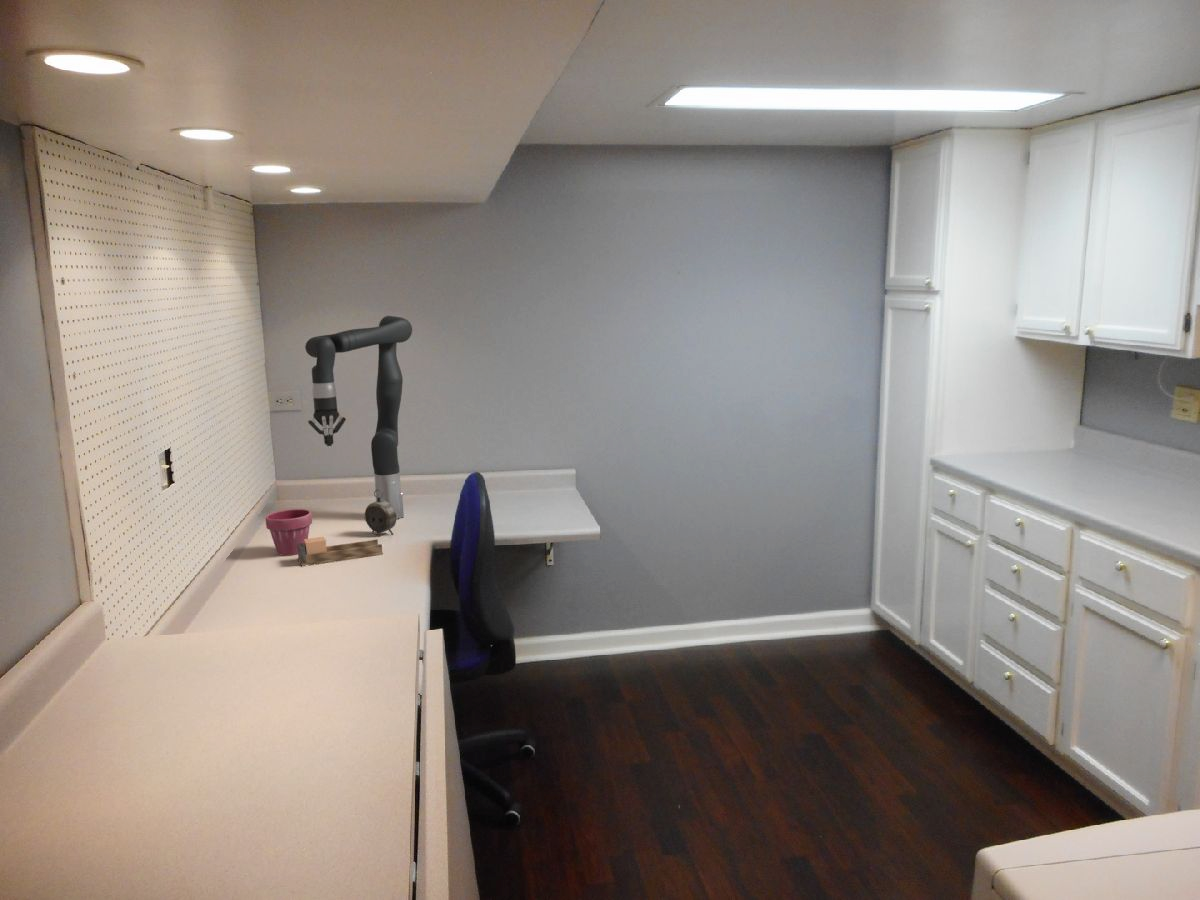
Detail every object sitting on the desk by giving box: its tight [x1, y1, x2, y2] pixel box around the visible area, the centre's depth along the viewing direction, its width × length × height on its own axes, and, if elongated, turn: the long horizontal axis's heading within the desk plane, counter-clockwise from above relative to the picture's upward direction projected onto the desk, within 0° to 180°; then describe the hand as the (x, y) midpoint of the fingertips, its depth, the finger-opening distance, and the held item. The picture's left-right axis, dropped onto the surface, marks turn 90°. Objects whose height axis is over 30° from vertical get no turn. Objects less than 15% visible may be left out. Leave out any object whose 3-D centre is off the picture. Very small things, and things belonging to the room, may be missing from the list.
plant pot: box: [265, 508, 313, 556], centre depth 281 cm, size 14×14×13 cm
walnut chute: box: [297, 539, 384, 567], centre depth 275 cm, size 25×9×6 cm, turn 116°
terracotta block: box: [304, 536, 327, 555], centre depth 272 cm, size 6×5×6 cm
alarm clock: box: [364, 489, 397, 537], centre depth 299 cm, size 11×5×16 cm, turn 65°
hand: (329, 445), depth 296 cm, fingers closed
